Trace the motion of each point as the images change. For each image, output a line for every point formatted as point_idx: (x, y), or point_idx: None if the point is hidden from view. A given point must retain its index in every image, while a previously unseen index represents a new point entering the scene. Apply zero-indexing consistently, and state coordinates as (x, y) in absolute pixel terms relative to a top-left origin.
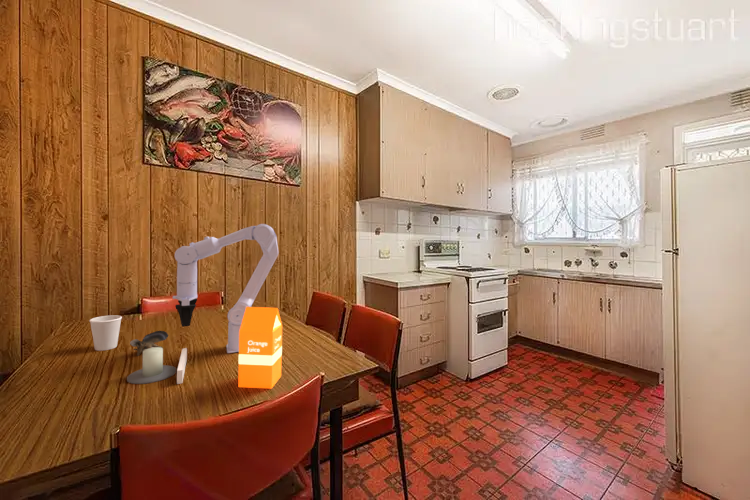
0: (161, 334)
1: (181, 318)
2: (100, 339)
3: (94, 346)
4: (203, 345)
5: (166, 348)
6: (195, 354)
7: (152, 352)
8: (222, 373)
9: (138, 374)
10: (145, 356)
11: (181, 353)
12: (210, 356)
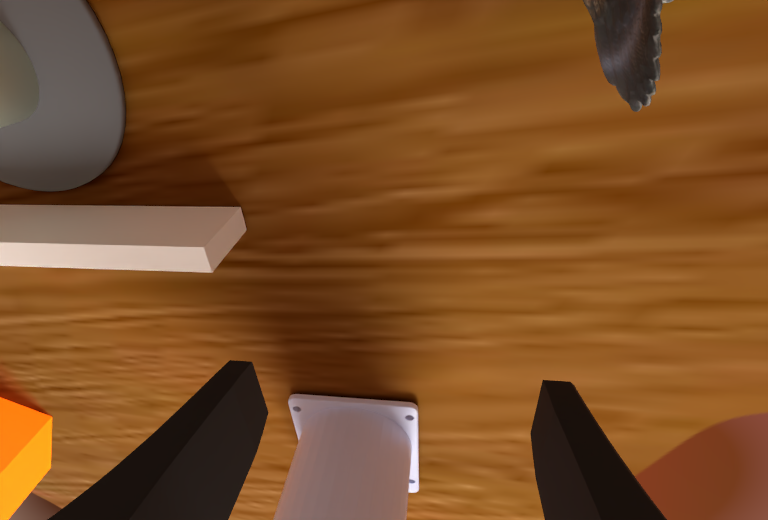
0: (636, 32)
1: (142, 455)
2: None
3: None
4: (501, 310)
5: (576, 64)
6: (326, 269)
7: None
8: (53, 353)
9: None
10: None
11: (97, 245)
12: (270, 331)
